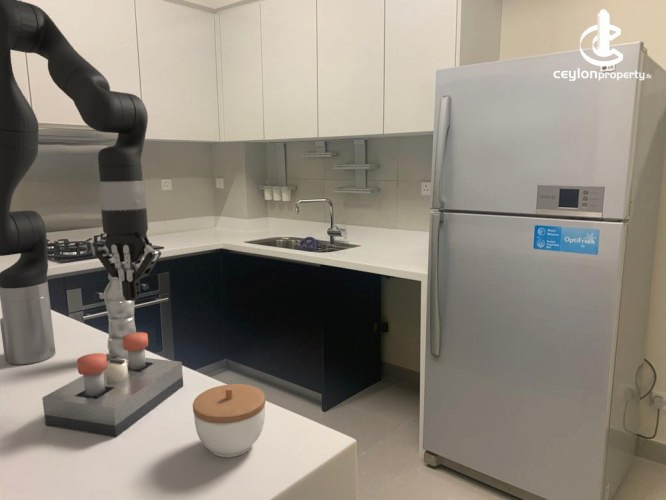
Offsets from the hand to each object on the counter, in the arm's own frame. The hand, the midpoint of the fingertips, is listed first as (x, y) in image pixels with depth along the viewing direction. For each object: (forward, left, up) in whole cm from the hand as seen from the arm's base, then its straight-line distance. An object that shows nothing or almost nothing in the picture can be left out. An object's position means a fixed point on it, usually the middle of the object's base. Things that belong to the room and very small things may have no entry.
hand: (132, 299), depth 91 cm
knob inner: (0, 0, -13) cm, 13 cm away
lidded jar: (+26, -12, -18) cm, 34 cm away
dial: (0, -5, -13) cm, 14 cm away
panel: (0, -5, -18) cm, 19 cm away
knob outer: (0, -11, -13) cm, 17 cm away
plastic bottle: (-15, +15, -18) cm, 28 cm away
